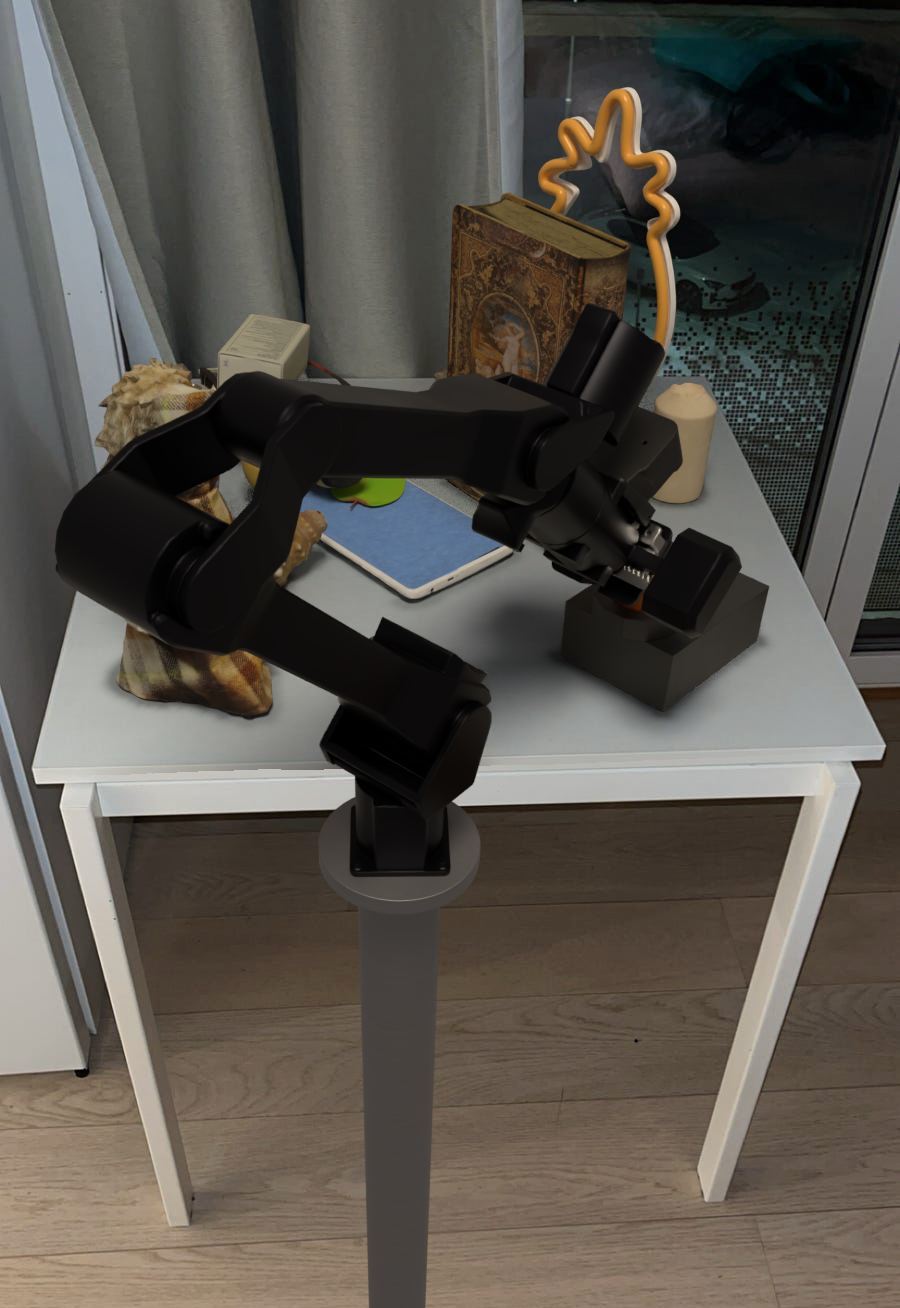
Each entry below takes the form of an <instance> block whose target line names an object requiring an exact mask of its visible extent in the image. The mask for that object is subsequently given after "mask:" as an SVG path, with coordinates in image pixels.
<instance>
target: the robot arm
mask: <svg viewBox="0 0 900 1308" xmlns="http://www.w3.org/2000/svg"><path fill="white" fill-rule="evenodd" d="M653 339H654V338H651V337H649V336H648V335H647V334H646V333H644V332H643V331H641V330H640V329H638V328H637V327H635V326H634V325H632V324H630V323H628V322H626V321H625V320H624V319H622V320H621V319H620V318H619V317H618V315H617V313H616V312H615V311H613V310H610V309H607V308H604V307H601V306H598V305H595V304H592V303H587V304H586V305H585V307H584V309H583V311H582V313H581V315H580V317H579V319H578V321H577V323H576V324H575V326H574V328H573V330H572V332H571V334H570V336H569V338H568V340H567V342H566V343H565V345H564V347H563V349H562V351H561V353H560V355H559V357H558V359H557V361H556V362H555V364H554V366H553V368H552V370H551V372H550V374H549V376H548V378H547V380H546V381H545V383H544V385H543V384H540V383H538V382H535V381H532V380H530V379H527V378H524V377H522V376H519V375H516V374H513V373H511V372H505V373H502V374H499V375H495V376H492V377H489V378H486V377H484V376H481V375H478V374H475V373H471V374H464V375H458V376H453V377H447V378H441V379H438V380H436V381H435V380H434V381H433V383H431V386H430V387H429V388H428V389H426V390H421V391H409V390H398V389H390V388H389V389H388V388H379V387H369V386H359V385H351V386H349V385H341V384H340V383H339V384H338V383H329V382H318V381H309V380H299V379H298V380H289V379H279V378H277V377H274V376H272V375H270V374H267V373H265V372H261V371H254V372H243V373H237V374H234V375H233V376H232V377H230V378H229V379H227V380H226V381H225V382H224V383H223V384H222V385H221V386H220V387H219V388H218V389H217V390H216V391H215V392H214V393H213V394H212V395H211V396H210V397H209V398H208V399H207V400H206V401H205V402H204V403H203V404H202V405H201V406H200V407H199V408H197V409H195V410H193V411H191V412H189V413H186V414H184V415H182V416H180V417H178V418H176V419H174V420H172V421H169V422H167V423H165V424H163V425H161V426H159V427H157V428H155V429H152V430H150V431H148V432H146V433H144V434H142V435H140V436H138V437H136V438H134V439H132V440H131V441H130V442H128V443H127V444H126V445H125V446H124V447H123V448H122V449H121V450H120V451H119V452H118V453H117V454H116V455H115V456H114V457H113V458H112V459H111V460H110V461H109V462H108V463H107V464H106V465H105V466H104V467H103V468H102V469H99V471H98V472H97V473H96V474H95V475H94V476H93V477H92V478H91V479H90V480H89V481H88V482H87V483H86V484H85V485H84V486H83V487H81V488H80V489H79V490H78V491H77V492H76V493H75V494H74V495H73V497H72V498H71V499H70V501H69V503H68V504H67V506H66V507H65V508H64V510H63V512H62V514H61V516H60V517H61V518H60V521H59V522H58V526H57V528H56V533H55V542H54V543H55V544H54V555H55V560H56V564H55V572H56V574H57V575H58V576H59V578H60V580H61V581H62V582H63V583H65V584H67V585H68V586H69V587H70V588H71V589H73V590H75V591H76V592H78V593H79V594H81V595H83V596H85V597H86V598H88V599H89V600H92V601H93V602H95V603H97V604H99V606H102V607H103V608H106V609H107V610H109V611H111V612H112V613H114V614H115V615H117V616H119V617H121V618H122V619H124V620H125V619H126V620H127V621H129V622H131V623H133V624H134V625H136V626H138V627H139V628H141V629H143V630H145V631H146V632H148V633H150V634H151V635H153V636H155V637H156V638H158V639H160V640H162V641H163V642H165V643H167V644H168V645H170V646H172V647H176V648H179V649H184V650H190V651H196V652H201V653H207V654H213V655H218V656H225V655H228V654H230V653H233V652H235V651H237V650H240V651H245V652H248V653H250V654H252V655H254V656H256V657H258V658H260V659H262V660H263V662H265V663H268V664H270V665H273V666H275V668H276V667H277V668H279V669H280V670H283V671H284V672H286V673H289V674H291V675H293V676H294V677H297V678H299V679H301V680H303V681H305V682H307V683H309V684H312V685H313V686H315V687H317V688H319V689H322V690H323V691H325V692H328V693H330V694H331V695H334V696H336V697H337V701H338V704H339V705H338V707H337V709H336V711H335V713H334V714H333V716H332V718H331V720H330V722H329V724H328V726H327V727H326V730H325V731H324V733H323V735H322V737H321V739H320V741H319V743H318V745H319V749H320V750H321V753H322V754H323V756H324V758H325V761H326V762H328V763H329V764H331V765H333V766H335V765H336V766H337V767H339V768H341V769H342V770H344V772H345V771H346V772H347V773H349V774H350V775H352V776H354V797H355V805H353V806H352V807H351V827H350V874H351V875H352V876H354V877H440V876H447V875H449V874H450V870H451V864H450V847H449V831H448V814H447V807H446V806H447V805H448V804H449V803H451V802H454V801H455V800H456V799H457V798H458V797H460V796H461V795H462V794H463V793H465V792H466V791H467V790H468V789H470V788H471V787H472V786H473V785H474V784H475V781H476V777H477V774H478V771H479V767H480V764H481V761H482V757H483V753H484V750H485V747H486V744H487V740H488V737H489V735H490V730H491V728H492V727H491V726H492V721H493V715H492V710H491V708H489V705H490V704H491V703H492V700H493V699H492V695H491V691H490V689H489V688H488V687H487V685H486V684H484V683H483V681H484V680H485V679H487V677H488V672H486V671H484V670H482V669H481V668H479V667H477V666H475V665H473V664H470V663H469V662H468V661H465V660H464V659H462V658H461V656H459V655H458V654H457V653H456V652H455V653H454V652H453V651H452V650H449V649H447V648H445V647H443V646H441V645H439V644H437V643H435V642H433V641H431V640H429V639H427V638H425V637H423V636H422V635H420V634H418V633H415V632H414V631H412V630H409V629H408V628H406V627H404V626H402V625H400V624H398V623H396V622H394V621H393V620H391V619H389V618H386V617H384V616H382V617H381V618H380V621H379V624H378V626H377V628H376V631H375V633H374V635H372V636H370V637H367V636H365V634H362V633H360V632H359V631H357V630H356V629H354V628H352V627H350V626H349V625H347V624H346V623H344V622H342V621H340V620H338V619H337V618H335V617H333V616H332V615H331V614H329V613H327V612H325V611H323V610H322V609H320V608H318V607H317V606H315V605H313V604H312V603H310V602H308V601H307V600H305V599H303V598H301V597H300V596H299V595H297V594H295V593H293V592H292V591H289V590H288V589H286V588H284V587H283V586H282V585H281V586H280V585H279V584H278V583H277V582H276V581H275V578H274V574H275V572H276V571H277V570H278V569H279V568H280V567H281V566H282V565H283V564H284V562H285V561H286V560H287V558H288V556H289V554H290V551H291V547H292V543H293V539H294V534H295V530H296V526H297V522H298V518H299V514H300V509H301V505H302V501H303V498H304V497H305V496H306V495H307V493H308V492H309V491H310V490H311V489H312V488H313V487H314V486H315V485H316V484H317V482H318V481H319V480H320V479H321V478H401V479H407V480H409V479H411V480H413V479H415V480H416V479H417V480H418V479H419V480H422V479H423V480H448V479H451V480H454V481H457V482H460V483H463V484H465V485H468V486H471V487H473V488H476V489H479V490H481V491H484V492H485V493H484V495H483V496H482V497H481V498H480V499H479V501H478V505H477V507H476V509H475V511H474V513H473V514H472V517H473V519H472V530H473V531H474V532H476V533H478V534H480V535H482V536H485V537H487V538H489V539H491V540H494V541H496V542H498V543H500V544H502V545H504V546H506V547H508V548H510V549H512V550H514V551H515V552H516V553H522V551H523V550H524V548H525V546H526V545H525V543H524V541H525V540H526V541H528V542H530V543H532V544H533V545H536V546H538V547H540V548H543V552H542V556H543V557H545V558H546V559H547V560H548V561H550V562H551V568H552V569H553V570H554V571H555V572H557V573H559V574H561V575H563V576H565V577H567V578H569V579H571V580H573V581H575V582H577V583H579V584H582V585H583V584H584V585H592V584H594V585H601V586H600V587H599V589H598V592H599V593H601V594H603V595H605V596H607V597H609V598H611V599H613V600H615V601H617V602H619V603H621V604H623V605H625V606H633V605H635V604H636V603H637V602H638V601H639V599H640V597H641V596H642V594H643V599H642V606H641V611H642V612H643V613H644V614H646V615H647V616H649V617H650V618H652V619H653V620H655V621H657V622H658V623H660V624H662V625H664V626H666V627H668V628H670V629H672V630H674V631H676V632H678V633H680V634H682V635H684V636H686V637H688V638H690V639H692V638H695V637H698V636H701V635H702V634H703V633H704V631H705V629H706V628H707V626H708V624H709V623H710V621H711V619H712V617H713V616H714V614H715V612H716V611H717V609H718V607H719V606H720V604H721V602H722V600H723V599H724V597H725V595H726V594H727V592H728V590H729V589H730V587H731V585H732V584H733V582H734V580H735V578H736V577H737V575H738V573H739V572H740V573H741V570H742V569H743V565H742V562H741V557H740V555H739V554H738V552H737V551H736V550H735V549H734V547H733V546H732V545H729V544H727V543H724V542H722V541H720V540H717V539H715V538H714V537H711V536H709V535H706V534H704V533H702V532H700V531H698V530H695V529H694V528H691V527H687V528H686V529H684V530H682V531H681V532H679V533H678V534H677V535H676V537H675V538H674V540H673V535H674V534H673V530H672V528H670V526H667V525H665V524H663V523H661V522H658V521H656V520H654V519H652V518H653V516H654V515H655V513H656V508H655V507H654V506H653V505H652V504H651V503H650V499H653V496H654V495H655V494H656V493H657V492H658V491H659V489H660V488H661V487H662V486H663V485H664V483H665V482H666V481H667V480H668V479H669V478H670V476H671V475H672V474H673V473H674V472H676V471H678V469H679V468H680V467H681V465H682V463H683V456H682V450H681V444H680V437H679V431H678V426H677V424H676V423H675V422H674V421H673V420H671V419H668V418H666V417H663V416H661V415H658V414H656V413H654V411H651V410H648V409H646V408H644V407H641V406H640V404H641V401H642V400H643V398H644V396H645V394H646V392H647V390H648V389H649V388H650V386H651V385H650V383H651V381H652V379H653V377H654V376H655V374H656V372H657V370H658V368H659V366H660V364H661V362H662V361H663V359H664V357H665V351H664V348H663V347H662V345H661V344H660V343H659V342H658V341H656V340H653ZM649 385H650V386H649ZM648 387H649V388H648ZM242 461H245V462H247V463H249V464H251V465H253V466H255V467H257V468H260V469H259V473H258V477H257V481H256V484H255V488H253V491H252V496H251V499H250V501H249V503H248V504H247V505H246V506H245V507H244V508H243V510H241V512H240V513H238V514H237V516H236V517H234V518H235V519H234V520H233V522H232V523H231V524H229V523H227V522H225V521H223V520H221V519H219V518H217V517H215V516H213V515H211V514H209V513H207V512H205V511H203V510H201V509H199V508H197V507H195V506H193V505H191V504H189V503H187V502H185V501H183V500H181V499H179V498H177V497H175V496H176V495H178V494H180V493H182V492H185V491H187V490H189V489H191V488H193V487H195V486H197V485H199V484H202V483H204V482H206V481H208V480H210V479H212V478H214V477H216V476H218V475H220V476H221V475H223V474H225V473H227V472H229V471H231V470H233V468H236V466H238V465H239V464H240V463H241V462H242ZM671 542H673V544H672V545H671ZM670 545H671V547H670ZM669 547H670V549H669ZM668 549H669V550H668ZM514 551H513V552H514ZM667 551H668V552H667ZM666 553H667V554H666ZM665 554H666V556H665ZM664 556H665V557H664ZM663 558H664V559H663ZM653 575H654V576H653ZM652 577H653V578H652ZM651 578H652V579H651ZM644 591H645V592H644ZM643 592H644V593H643ZM126 620H125V621H126ZM441 868H445V869H441ZM355 869H360V870H355Z"/></svg>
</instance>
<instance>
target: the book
mask: <svg viewBox="0 0 900 1308" xmlns="http://www.w3.org/2000/svg"><path fill="white" fill-rule="evenodd" d="M451 221H452V222H451V223H452V224H451V247H450V248H451V253H450V257H451V258H450V280H449V282H450V283H449V307H448V308H449V310H448V311H449V313H448V335H447V336H448V339H447V365H446V366H447V367H446V368H447V377H453V376H458V375H464V374H471V373H475V374H478V375H481V376H484V377H486V378H489V377H492V376H495V375H499V374H502V373H505V372H511V373H513V374H516V375H519V376H522V377H524V378H527V379H530V380H532V381H535V382H538V383H540V384H543V385H544V383H545V381H546V380H547V378H548V376H549V374H550V372H551V370H552V368H553V366H554V364H555V362H556V361H557V359H558V357H559V355H560V353H561V351H562V349H563V347H564V345H565V343H566V342H567V340H568V338H569V336H570V334H571V332H572V330H573V328H574V326H575V324H576V323H577V321H578V319H579V317H580V315H581V313H582V311H583V309H584V307H585V305H586V304H587V303H592V304H595V305H598V306H601V307H604V308H607V309H610V310H613V311H615V312H616V313H617V315H618V317H619V318H620V319H621V320H623V317H624V311H625V310H624V309H625V302H626V295H627V294H626V293H627V285H628V278H629V277H628V276H629V269H630V261H631V260H630V259H631V252H632V244H631V243H630V242H627V241H626V240H623V239H621V238H618V237H616V236H614V235H611V234H609V233H606V232H604V231H601V230H599V229H597V228H594V227H592V226H590V225H587V224H586V223H583V222H580V221H577V220H575V219H573V218H570V217H568V216H567V215H565V216H564V215H561V214H559V213H557V212H554V211H552V210H550V208H547V207H545V206H542V205H540V204H538V203H535V202H532V201H530V200H528V199H526V198H523V197H521V196H518V195H516V194H514V193H513V192H505V193H503V194H501V196H500V200H497V201H495V202H491V203H486V204H477V205H466V204H464V203H459V204H455V205H454V207H453V209H452V220H451ZM447 480H448V481H449V482H450V483H451V484H453V485H454V486H456V487H457V488H458V489H460V490H461V491H462V492H464V493H465V494H466V495H468V496H470V497H471V498H473V499H475V500H476V501H477V502H479V499H480V498H481V497H482V496H483V495H484V493H485V492H484V491H481V490H479V489H476V488H473V487H471V486H468V485H465V484H463V483H460V482H457V481H454V480H451V479H447Z"/></svg>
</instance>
